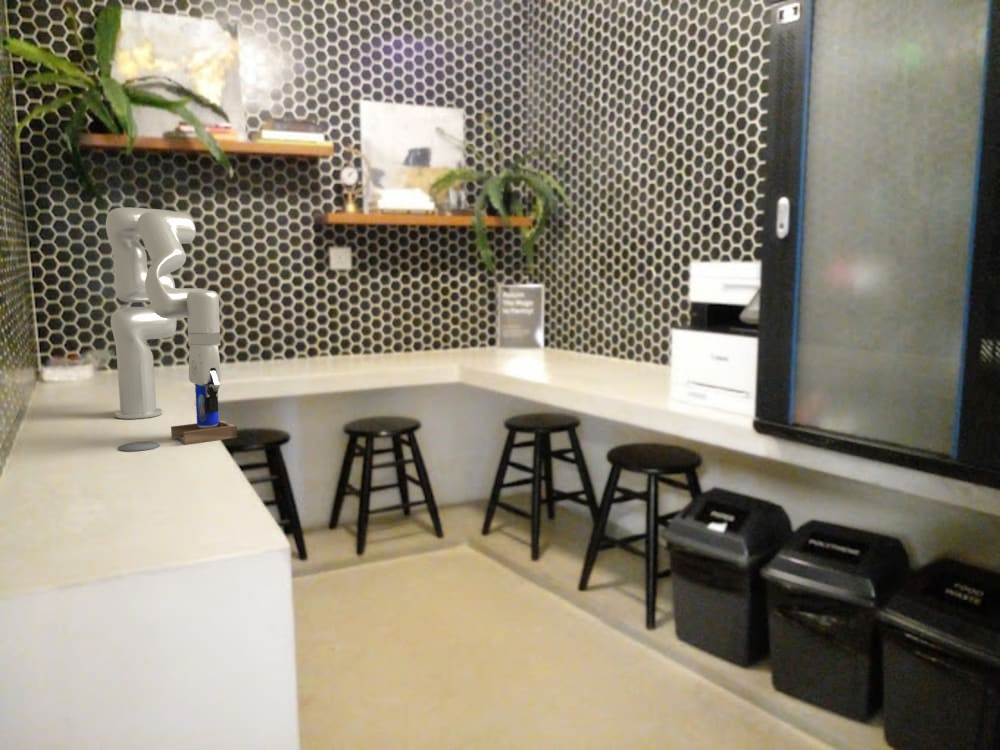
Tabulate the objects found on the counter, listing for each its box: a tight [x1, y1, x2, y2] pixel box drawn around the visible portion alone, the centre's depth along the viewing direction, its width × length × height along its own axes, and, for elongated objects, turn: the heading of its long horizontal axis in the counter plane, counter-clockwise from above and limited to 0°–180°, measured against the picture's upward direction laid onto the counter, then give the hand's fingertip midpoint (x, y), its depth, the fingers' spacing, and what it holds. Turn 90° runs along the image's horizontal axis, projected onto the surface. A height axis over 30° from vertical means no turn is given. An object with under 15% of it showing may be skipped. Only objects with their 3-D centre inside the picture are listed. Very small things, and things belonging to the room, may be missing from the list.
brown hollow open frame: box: [170, 419, 238, 446], centre depth 191 cm, size 10×13×3 cm
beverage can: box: [194, 382, 219, 428], centre depth 191 cm, size 5×5×15 cm
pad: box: [117, 440, 160, 453], centre depth 181 cm, size 9×9×1 cm
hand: (207, 409), depth 192 cm, fingers closed on beverage can, 5 cm apart
